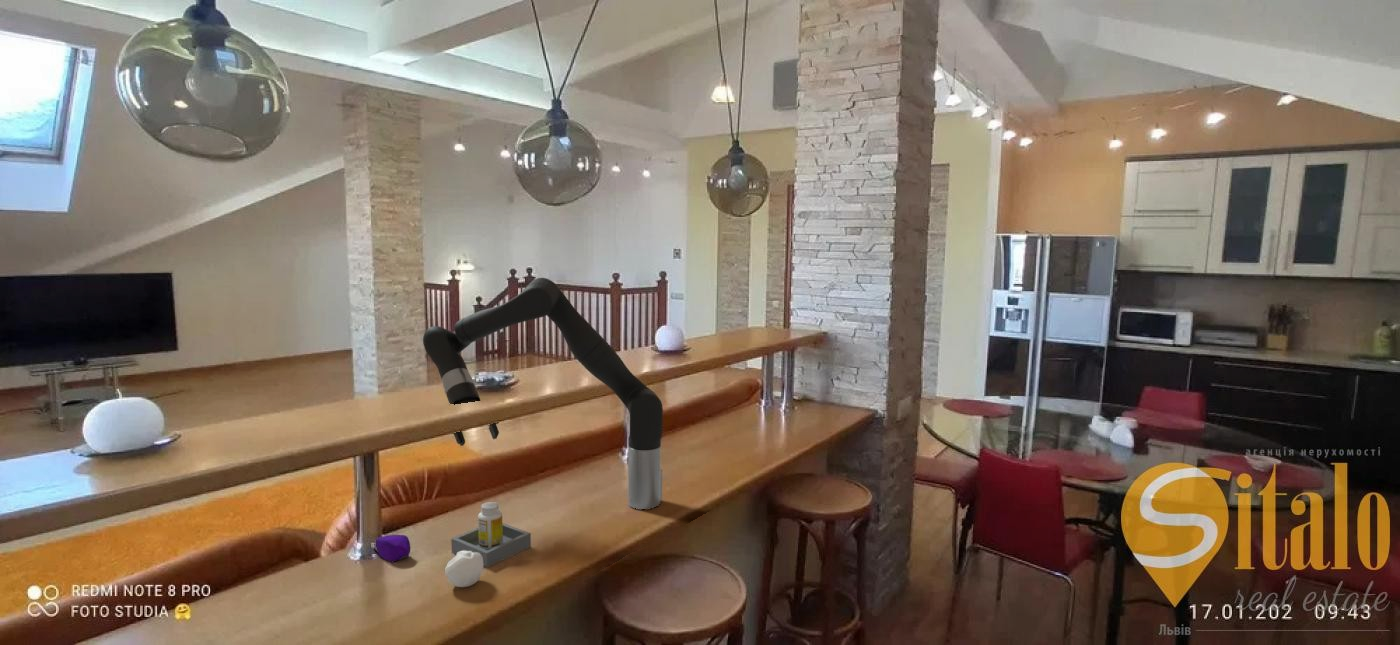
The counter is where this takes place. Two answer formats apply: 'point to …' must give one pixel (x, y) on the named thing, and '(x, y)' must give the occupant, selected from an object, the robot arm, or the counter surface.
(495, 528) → the supplement bottle
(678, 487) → the counter surface
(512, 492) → the counter surface
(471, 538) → the tray
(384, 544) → the crystal
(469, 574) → the white swirled ball
